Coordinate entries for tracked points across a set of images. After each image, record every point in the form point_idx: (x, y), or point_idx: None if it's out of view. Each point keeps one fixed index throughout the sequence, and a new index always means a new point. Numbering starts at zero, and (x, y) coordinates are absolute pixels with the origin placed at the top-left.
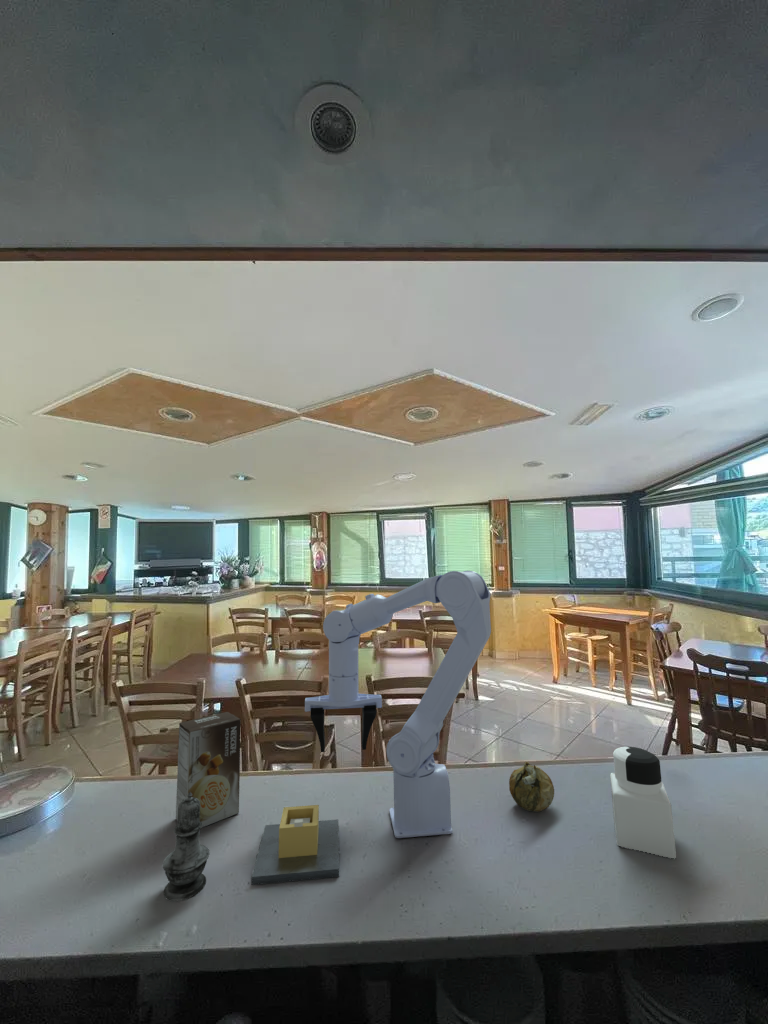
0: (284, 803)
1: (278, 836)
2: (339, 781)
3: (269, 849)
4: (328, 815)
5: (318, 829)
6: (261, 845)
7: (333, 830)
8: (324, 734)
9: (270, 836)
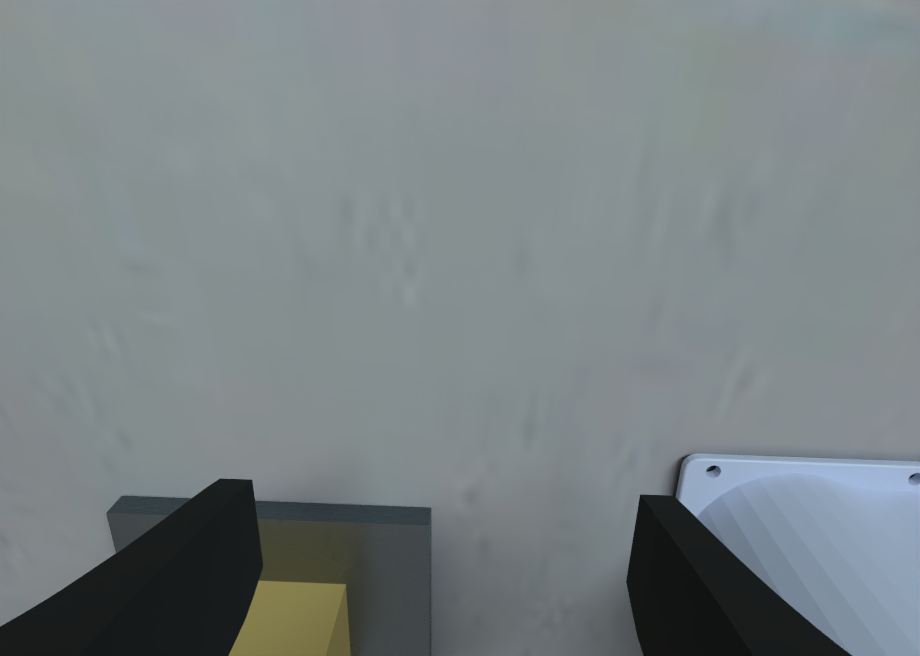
0: (137, 290)
1: None
2: (444, 73)
3: None
4: (384, 428)
5: (343, 601)
6: None
7: (407, 588)
8: (184, 552)
9: None
